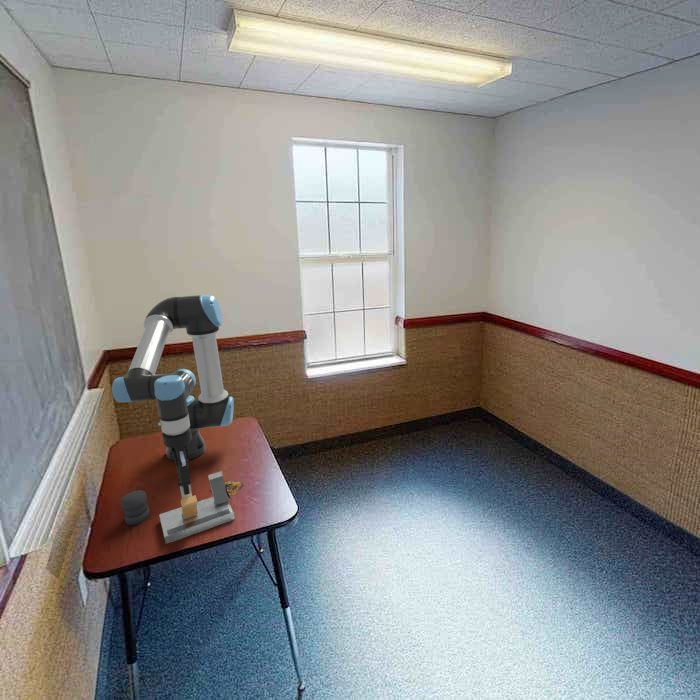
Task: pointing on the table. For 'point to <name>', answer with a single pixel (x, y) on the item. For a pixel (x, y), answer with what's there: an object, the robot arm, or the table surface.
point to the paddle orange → (189, 507)
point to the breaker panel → (195, 519)
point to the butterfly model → (233, 487)
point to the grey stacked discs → (135, 507)
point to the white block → (218, 488)
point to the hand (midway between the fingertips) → (187, 501)
